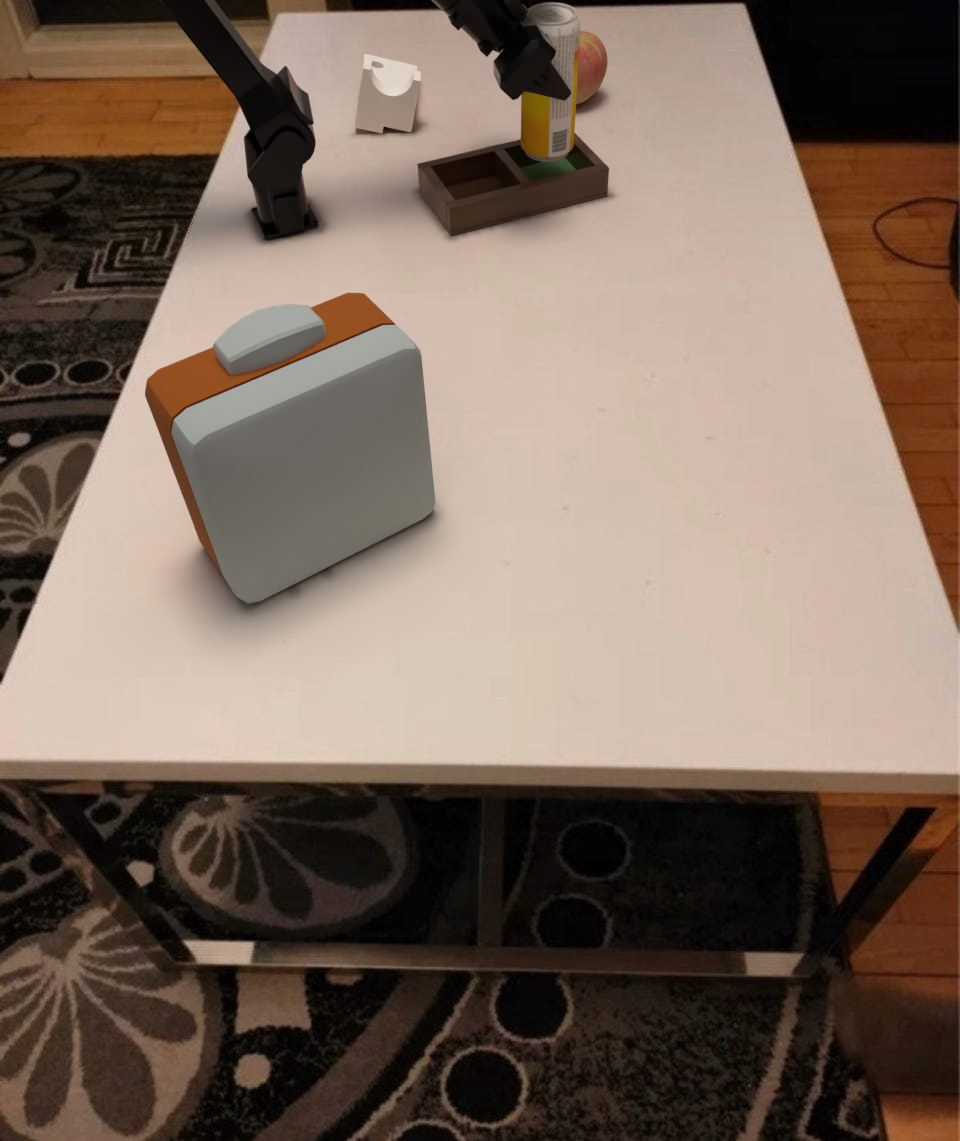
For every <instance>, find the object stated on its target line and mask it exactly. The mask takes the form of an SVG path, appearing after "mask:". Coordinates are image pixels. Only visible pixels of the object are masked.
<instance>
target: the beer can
mask: <svg viewBox="0 0 960 1141" xmlns="http://www.w3.org/2000/svg"><path fill="white" fill-rule="evenodd" d="M528 11H529V12H528V13H527V14H526V16H525V19H524V21H523V23H522V24H523V25H524V26H529V25H537V26H538V27H539V28H540V29H541V30H542V31H543V32H544V33H545V34H546V33H547V35H548V37H549V38H550V40H551V42H552V44H553V46H554V48H555V50H556V54H555V56H554V59H553V60H552V61H551V62H552V64H553V65H554V67H555V68H556V70H557V71H558V73H559V74H560V76H561V77H562V79H563V80H564V82H565V83H566V85H567V86H568V88H569V89H570V91H571V95H570V96H569V97H568V98H567V100H565V101H563V100H559V99H555V98H551V97H547V96H543V95H538V94H534V93H529V92H523V93H522V94H521V96H520V97H521V98H520V106H521V107H520V139H521V147H522V149H523V150H524V151H525V153H526V154H527V156H528V157H530V158H531V159H534V160H537V161H542V162H553V161H558V160H561V159H563V158H564V157H566V156H567V155H568V153H569V151H571V150H572V148H573V146H574V132H575V131H576V130H575V129H576V127H575V126H576V113H577V112H576V111H577V105H576V95H577V77H578V59H579V41H580V30H581V21H580V19H579V16H578V11H577V9H576V8H575V7H574V6H572V5H570V4H567V3H562V2H554V1H553V2H552V1H550V2H549V1H548V2H541V3H537V4H534V5H531V7H530V8H529V9H528Z"/></svg>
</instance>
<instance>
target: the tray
mask: <svg viewBox="0 0 960 1141" xmlns="http://www.w3.org/2000/svg"><path fill="white" fill-rule="evenodd" d="M416 167H417V178H418V191H419V193H420V194H421V196H422V197H423V199H424V200H425V201H426V204H428V205H429V207H430V209H431V210H432V212H434V214H435V216H436V217H437V218H438V219H439V221H440V223H441V224H442V226H444V228H445V229H446V231H447V232H448V234H449V235H450V236H456V235H461V234H466V233H468V232H472V231H476V230H479V229H484V228H488V227H492V226H496V225H499V224H503V223H507V222H511V221H515V220H519V219H523V218H526V217H531V216H534V215H535V216H536V215H539V214H542V213H546V212H550V211H555V210H557V209H558V210H559V209H561V208H566V207H569V206H570V207H571V206H574V205H578V204H581V203H585V202H589V201H593V200H597V199H600V198H601V199H602V198H605V197H608V191H609V190H608V189H609V175H610V167H609V166H608V165H607V164H606V163H605V162H604V161H603V160H602V159H601V158H600V157H599V155H597V154H596V152H594V151H593V150H592V149H591V148H590V146H589V145H588V144H587V143H586V142H585V141H584V140H583V139H582V138H581V137H580V136H578V134H577V133H576V132H575V131H574V146H573V148H572V150H571V151H569V153H568V155H567V156H566V157H564V158H563V159H561V160H558V161H553V162H542V161H537V160H534V159H531V158H530V157H528V156H527V154H526V153H525V151H524V150H523V149H522V147H521V138H520V139H516V140H512V141H507V142H503V143H499V144H494V145H491V146H486V147H482V148H477V149H474V150H470V151H469V150H468V151H465V152H461V153H457V154H452V155H448V156H444V157H439V158H436V159H432V160H428V161H424V162H419V163H417V164H416Z"/></svg>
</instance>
